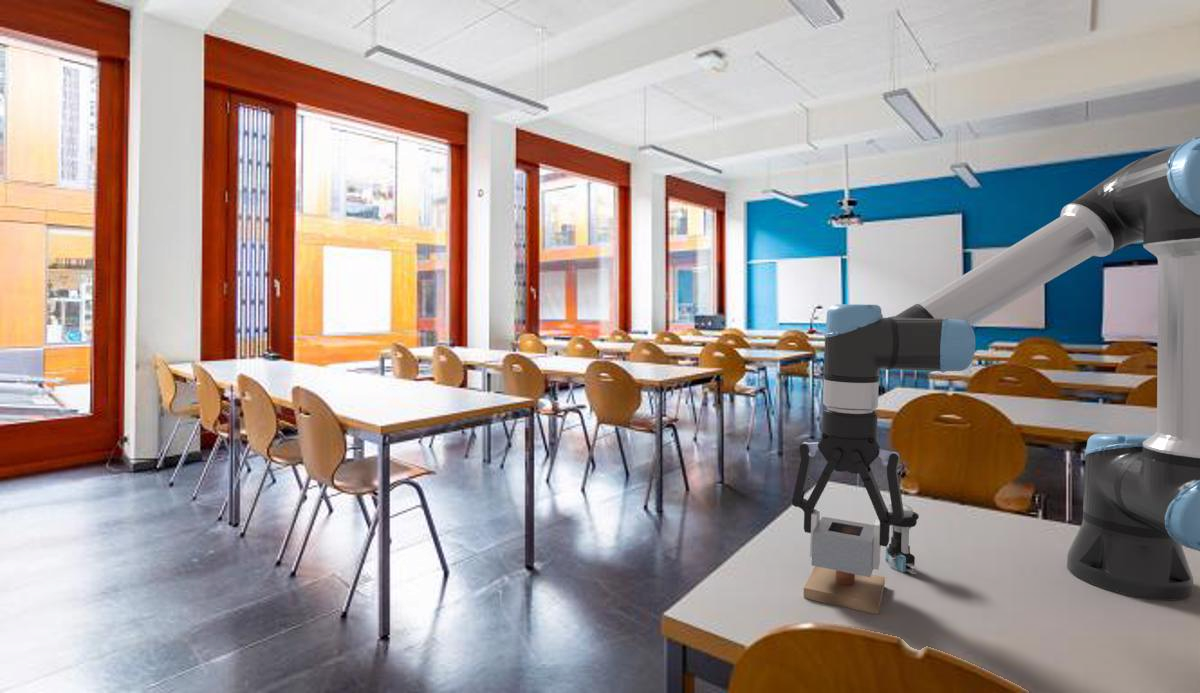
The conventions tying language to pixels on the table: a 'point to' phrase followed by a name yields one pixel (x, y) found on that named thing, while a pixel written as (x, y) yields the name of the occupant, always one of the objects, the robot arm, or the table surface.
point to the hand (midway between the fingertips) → (844, 559)
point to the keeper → (845, 589)
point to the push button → (901, 542)
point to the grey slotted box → (843, 546)
